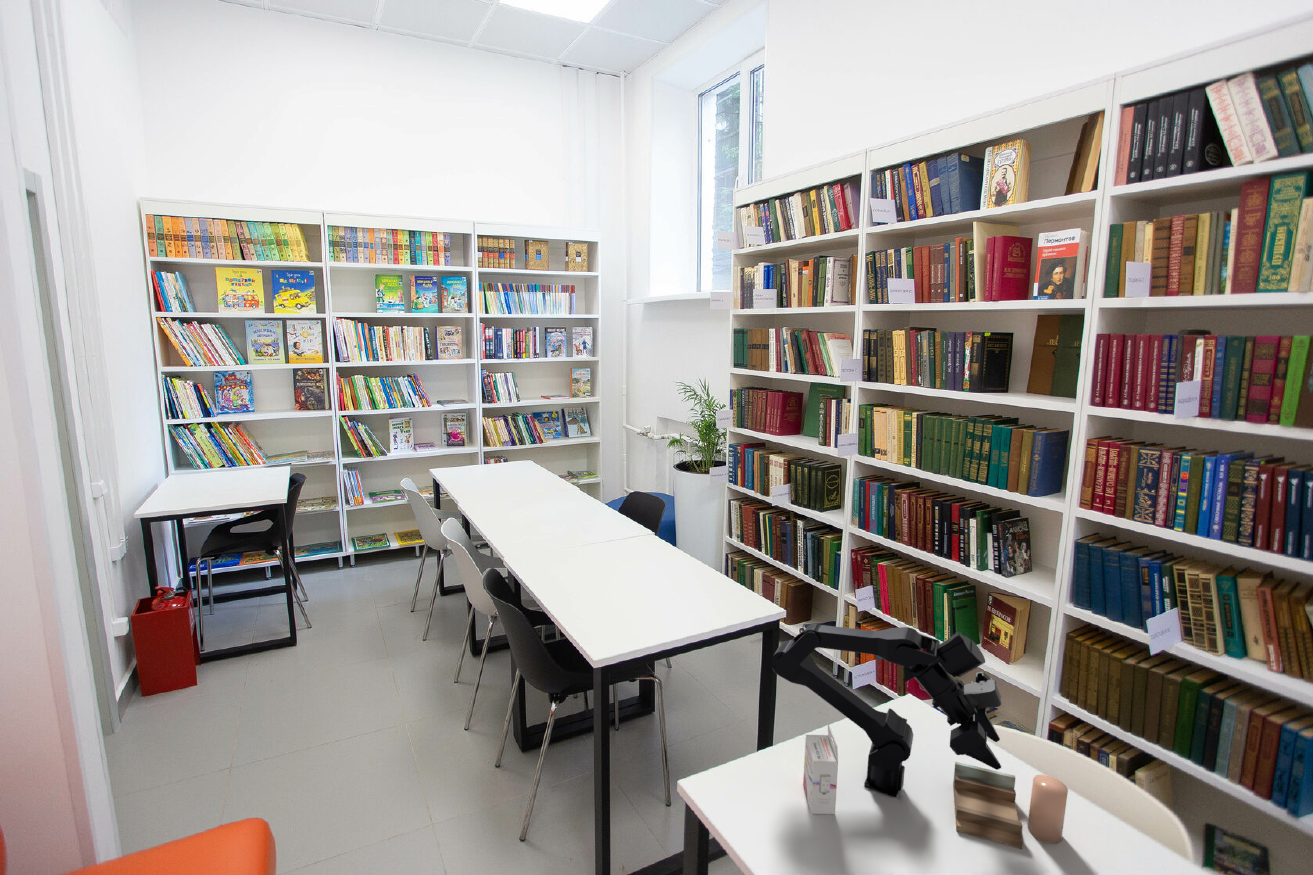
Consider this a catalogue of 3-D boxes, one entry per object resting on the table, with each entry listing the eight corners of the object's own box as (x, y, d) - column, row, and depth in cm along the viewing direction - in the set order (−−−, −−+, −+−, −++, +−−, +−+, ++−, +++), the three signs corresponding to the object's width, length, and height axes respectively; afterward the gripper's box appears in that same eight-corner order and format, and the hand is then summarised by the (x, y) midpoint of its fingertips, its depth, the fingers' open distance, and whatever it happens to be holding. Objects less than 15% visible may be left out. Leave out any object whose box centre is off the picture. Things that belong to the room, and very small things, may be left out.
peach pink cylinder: (1026, 835, 122) (1032, 787, 121) (1028, 816, 127) (1033, 770, 125) (1061, 848, 119) (1067, 799, 118) (1061, 828, 124) (1067, 781, 123)
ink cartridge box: (801, 784, 135) (805, 719, 133) (825, 785, 135) (829, 720, 133) (810, 814, 127) (814, 746, 124) (835, 815, 127) (840, 747, 124)
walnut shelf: (956, 830, 123) (958, 806, 122) (953, 783, 136) (955, 761, 135) (1021, 848, 119) (1025, 823, 118) (1012, 798, 132) (1015, 775, 131)
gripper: (975, 690, 116) (1040, 764, 113) (976, 645, 133) (1032, 709, 130) (924, 718, 121) (985, 790, 118) (931, 672, 137) (984, 734, 134)
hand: (998, 754), depth 125 cm, fingers open, 9 cm apart
